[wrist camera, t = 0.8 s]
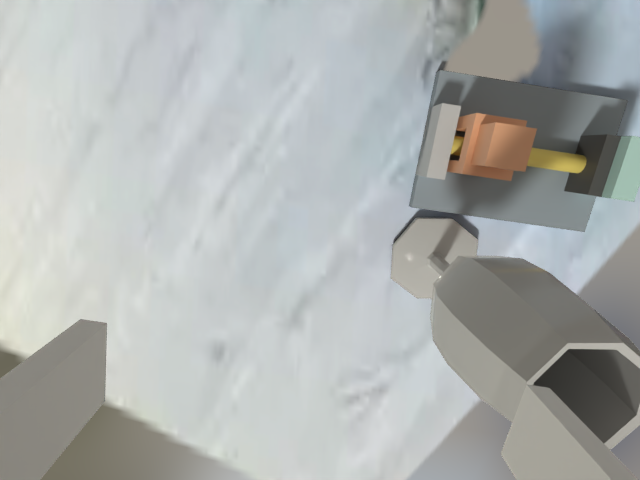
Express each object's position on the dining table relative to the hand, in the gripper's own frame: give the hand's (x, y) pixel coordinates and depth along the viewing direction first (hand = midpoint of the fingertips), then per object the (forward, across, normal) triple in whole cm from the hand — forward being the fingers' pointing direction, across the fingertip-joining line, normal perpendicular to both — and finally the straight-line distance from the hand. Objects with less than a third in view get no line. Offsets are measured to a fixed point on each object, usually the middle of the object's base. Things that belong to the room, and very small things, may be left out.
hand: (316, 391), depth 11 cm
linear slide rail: (+24, +17, +10) cm, 31 cm away
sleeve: (+23, +12, +10) cm, 28 cm away
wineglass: (+24, +12, -1) cm, 27 cm away
